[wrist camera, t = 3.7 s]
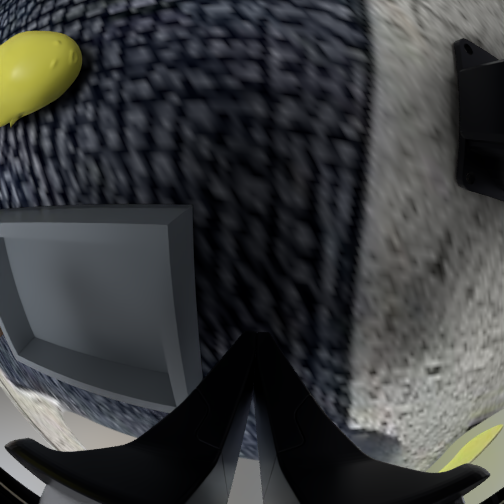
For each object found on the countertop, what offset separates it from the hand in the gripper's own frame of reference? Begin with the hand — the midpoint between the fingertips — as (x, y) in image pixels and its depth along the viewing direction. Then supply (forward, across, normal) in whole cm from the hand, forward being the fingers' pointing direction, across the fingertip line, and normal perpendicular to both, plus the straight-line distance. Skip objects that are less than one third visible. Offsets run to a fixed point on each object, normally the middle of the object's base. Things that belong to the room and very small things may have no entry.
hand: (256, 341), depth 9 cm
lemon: (+2, +10, -10) cm, 15 cm away
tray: (+2, +8, 0) cm, 8 cm away
